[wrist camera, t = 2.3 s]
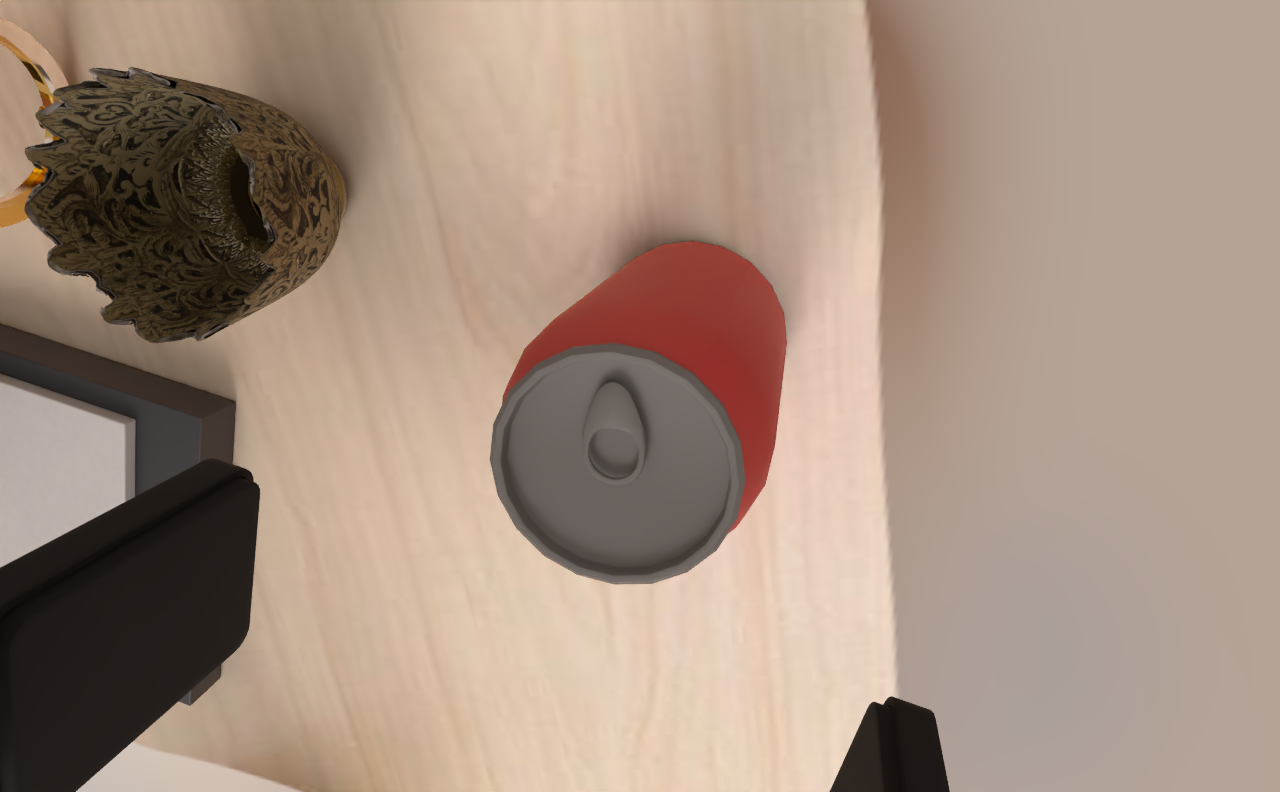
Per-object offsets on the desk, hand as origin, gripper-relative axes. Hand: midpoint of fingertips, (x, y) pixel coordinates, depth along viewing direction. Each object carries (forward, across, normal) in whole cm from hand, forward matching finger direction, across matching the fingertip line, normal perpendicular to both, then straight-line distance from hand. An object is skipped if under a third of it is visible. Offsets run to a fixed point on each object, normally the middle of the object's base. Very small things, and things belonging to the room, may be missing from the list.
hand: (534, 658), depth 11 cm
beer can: (+18, +1, 0) cm, 18 cm away
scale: (+18, +25, +16) cm, 34 cm away
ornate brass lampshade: (+18, +16, -1) cm, 24 cm away
